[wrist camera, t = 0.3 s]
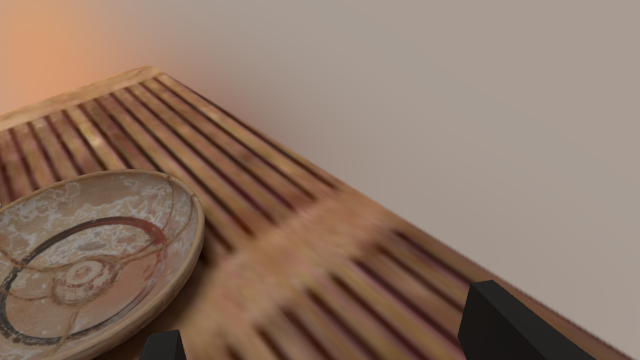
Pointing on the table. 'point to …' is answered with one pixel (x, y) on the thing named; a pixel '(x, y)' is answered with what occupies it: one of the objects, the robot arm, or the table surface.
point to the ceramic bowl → (93, 261)
